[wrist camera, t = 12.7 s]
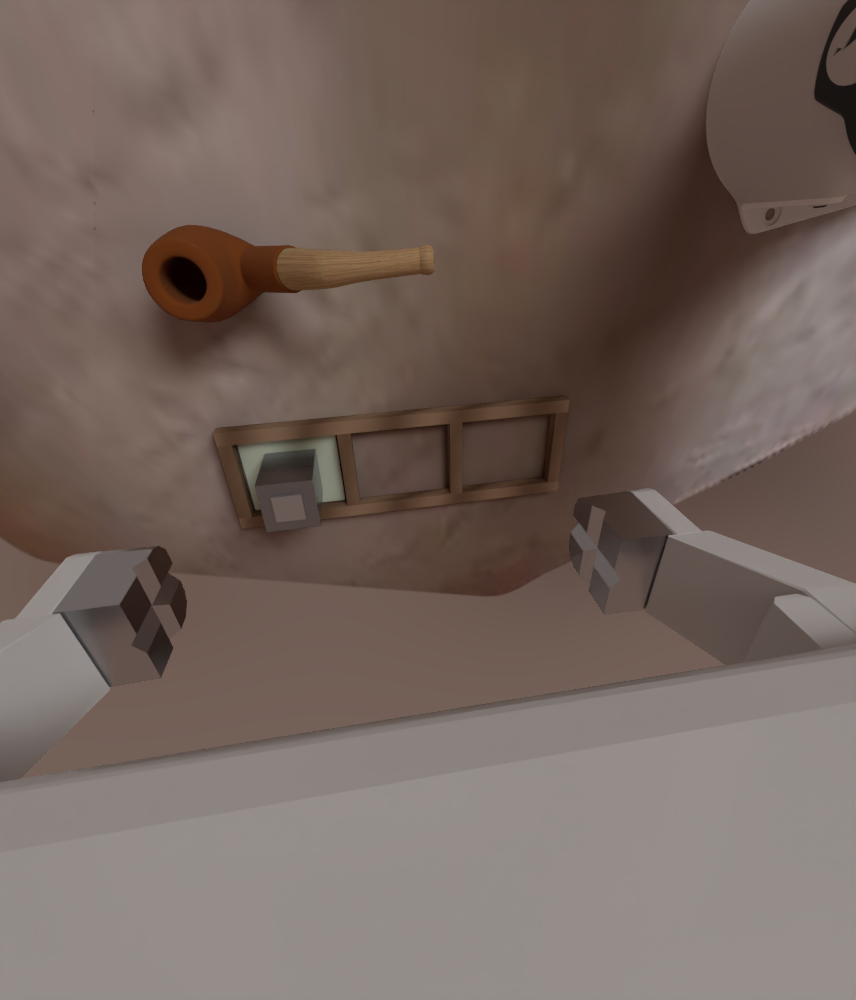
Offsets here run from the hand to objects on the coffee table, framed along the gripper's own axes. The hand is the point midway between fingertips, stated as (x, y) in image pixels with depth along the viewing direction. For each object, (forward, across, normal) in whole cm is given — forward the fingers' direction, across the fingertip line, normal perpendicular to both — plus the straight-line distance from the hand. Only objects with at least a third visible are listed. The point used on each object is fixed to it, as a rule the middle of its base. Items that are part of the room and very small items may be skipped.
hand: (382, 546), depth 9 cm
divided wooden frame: (+32, -2, +14) cm, 35 cm away
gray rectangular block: (+31, +8, +14) cm, 35 cm away
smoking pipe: (+32, +4, -4) cm, 32 cm away
